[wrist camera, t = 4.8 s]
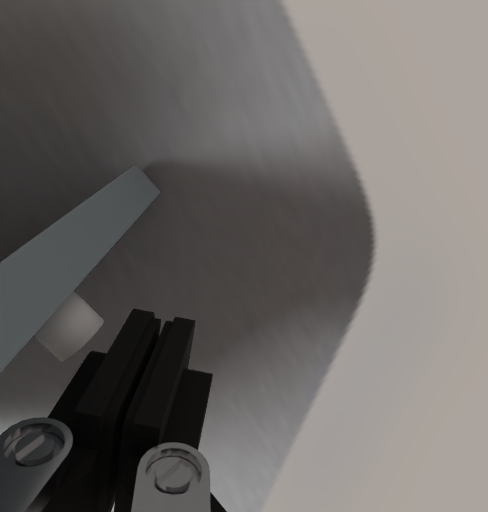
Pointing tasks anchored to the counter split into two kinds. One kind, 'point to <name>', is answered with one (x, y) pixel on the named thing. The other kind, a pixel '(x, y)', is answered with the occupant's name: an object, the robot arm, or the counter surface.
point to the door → (66, 270)
